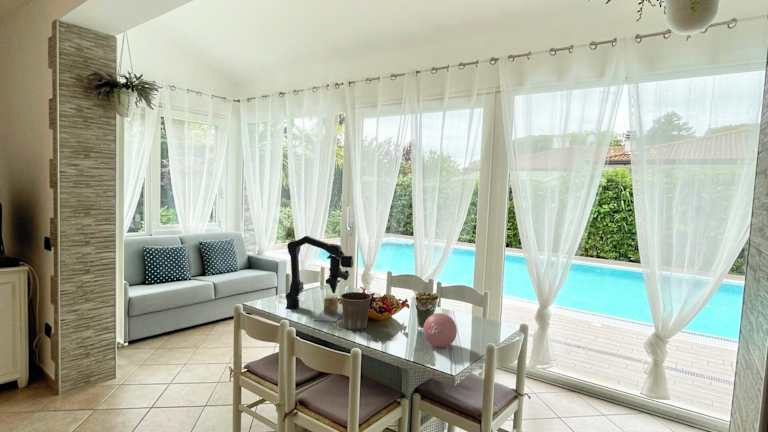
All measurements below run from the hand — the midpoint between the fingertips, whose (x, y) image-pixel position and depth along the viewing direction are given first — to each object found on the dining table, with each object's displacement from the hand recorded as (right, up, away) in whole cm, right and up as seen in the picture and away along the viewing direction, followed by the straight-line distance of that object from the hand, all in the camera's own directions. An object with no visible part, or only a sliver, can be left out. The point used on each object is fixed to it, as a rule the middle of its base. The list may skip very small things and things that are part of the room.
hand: (333, 293), depth 236 cm
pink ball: (+54, -16, -50) cm, 75 cm away
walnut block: (-1, -10, -6) cm, 12 cm away
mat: (-2, -11, -10) cm, 15 cm away
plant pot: (+14, -13, -25) cm, 31 cm away
